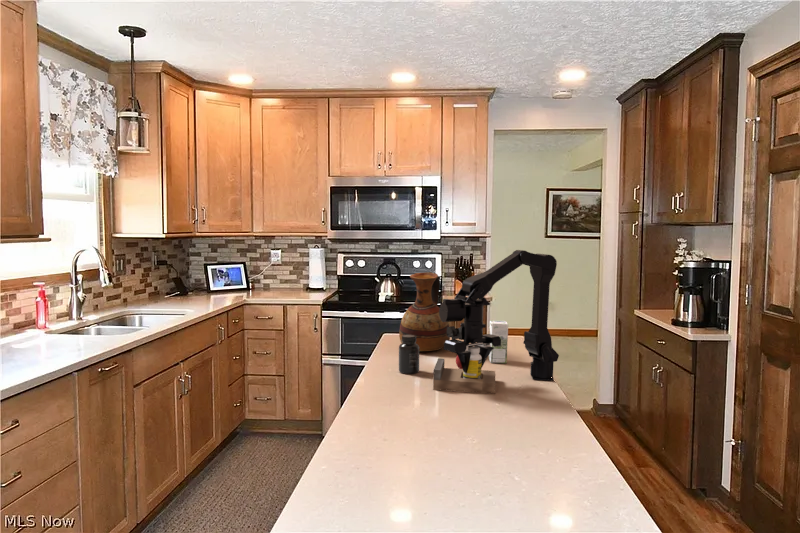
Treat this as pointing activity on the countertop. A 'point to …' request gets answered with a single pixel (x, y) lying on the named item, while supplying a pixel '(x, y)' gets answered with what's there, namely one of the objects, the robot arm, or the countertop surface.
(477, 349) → the supplement bottle
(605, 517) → the countertop surface
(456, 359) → the onion
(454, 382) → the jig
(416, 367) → the supplement bottle
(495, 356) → the syrup box
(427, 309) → the brown ceramic vase
